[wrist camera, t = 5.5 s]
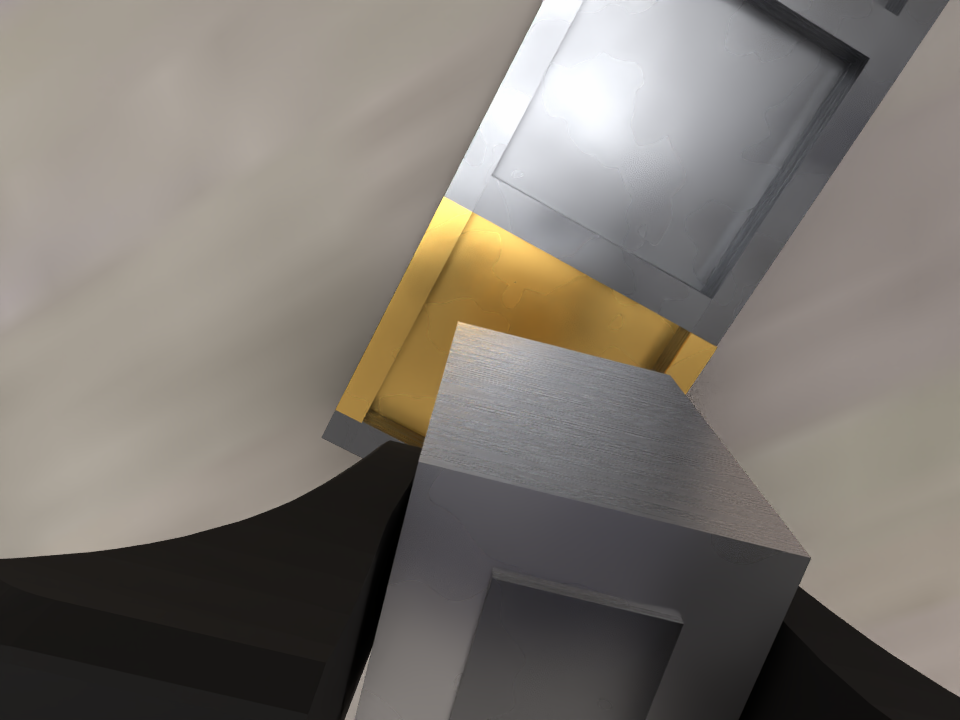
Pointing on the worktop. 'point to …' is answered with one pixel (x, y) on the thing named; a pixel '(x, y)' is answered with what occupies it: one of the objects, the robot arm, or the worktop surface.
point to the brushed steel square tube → (575, 550)
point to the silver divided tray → (631, 186)
